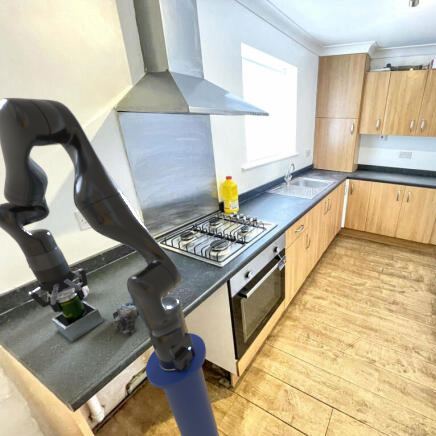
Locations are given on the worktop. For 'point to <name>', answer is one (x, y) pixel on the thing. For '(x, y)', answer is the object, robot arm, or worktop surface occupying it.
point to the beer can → (71, 305)
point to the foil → (125, 317)
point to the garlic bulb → (84, 291)
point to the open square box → (78, 323)
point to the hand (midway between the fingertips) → (70, 304)
